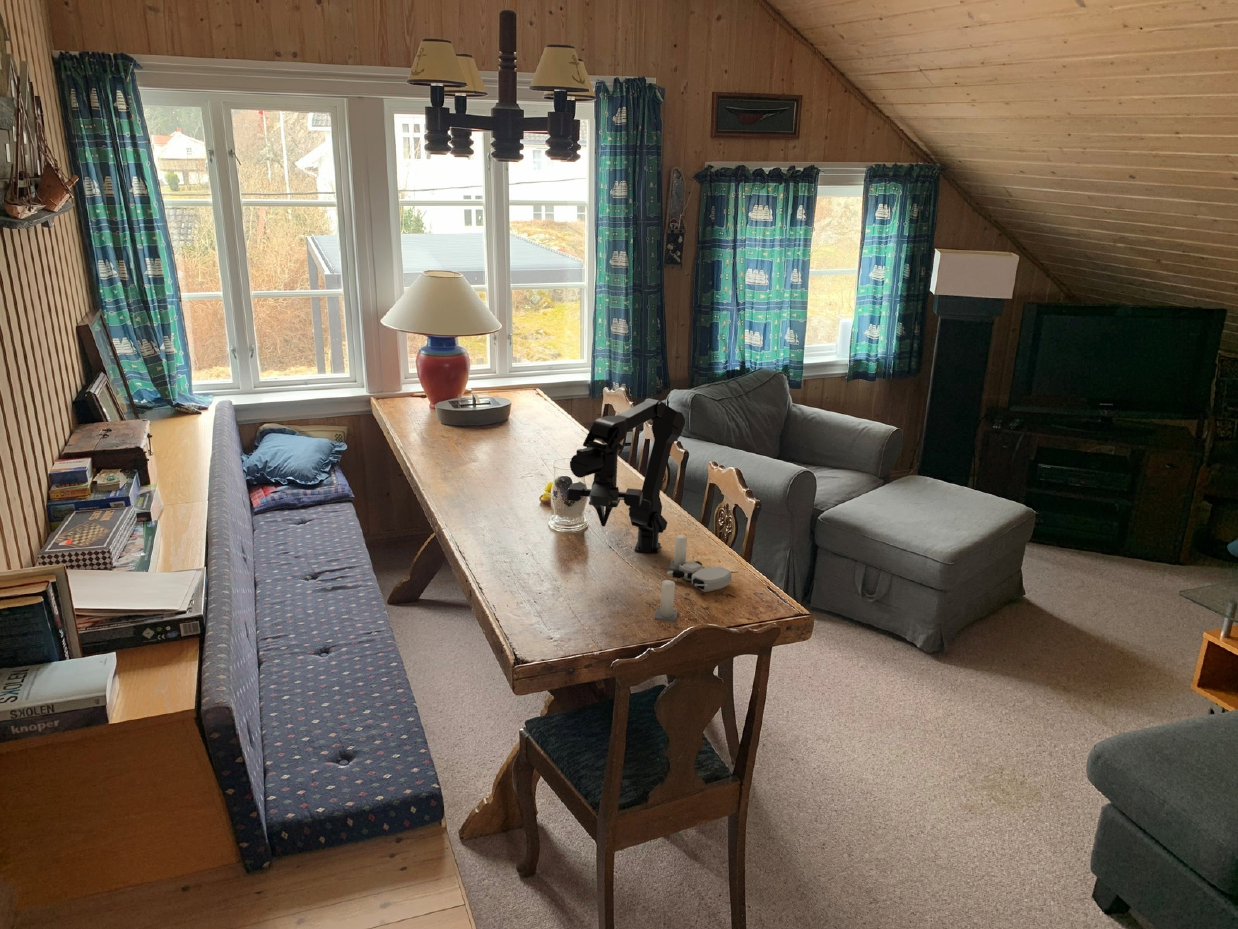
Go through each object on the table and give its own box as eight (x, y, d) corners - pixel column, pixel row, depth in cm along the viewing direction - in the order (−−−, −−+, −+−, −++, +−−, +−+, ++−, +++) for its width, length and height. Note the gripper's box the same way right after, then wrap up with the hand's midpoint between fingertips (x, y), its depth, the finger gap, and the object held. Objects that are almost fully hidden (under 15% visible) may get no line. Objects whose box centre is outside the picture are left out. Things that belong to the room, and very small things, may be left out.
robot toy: (663, 583, 228) (708, 600, 217) (663, 567, 226) (708, 583, 216) (695, 570, 236) (740, 586, 225) (695, 554, 235) (740, 569, 224)
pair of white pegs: (671, 562, 238) (673, 532, 235) (689, 564, 237) (692, 534, 234) (654, 619, 207) (656, 586, 204) (675, 622, 206) (677, 588, 203)
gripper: (562, 475, 217) (561, 534, 222) (638, 482, 215) (635, 541, 220) (571, 461, 228) (570, 518, 233) (644, 468, 225) (641, 525, 230)
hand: (603, 526), depth 228 cm, fingers closed
